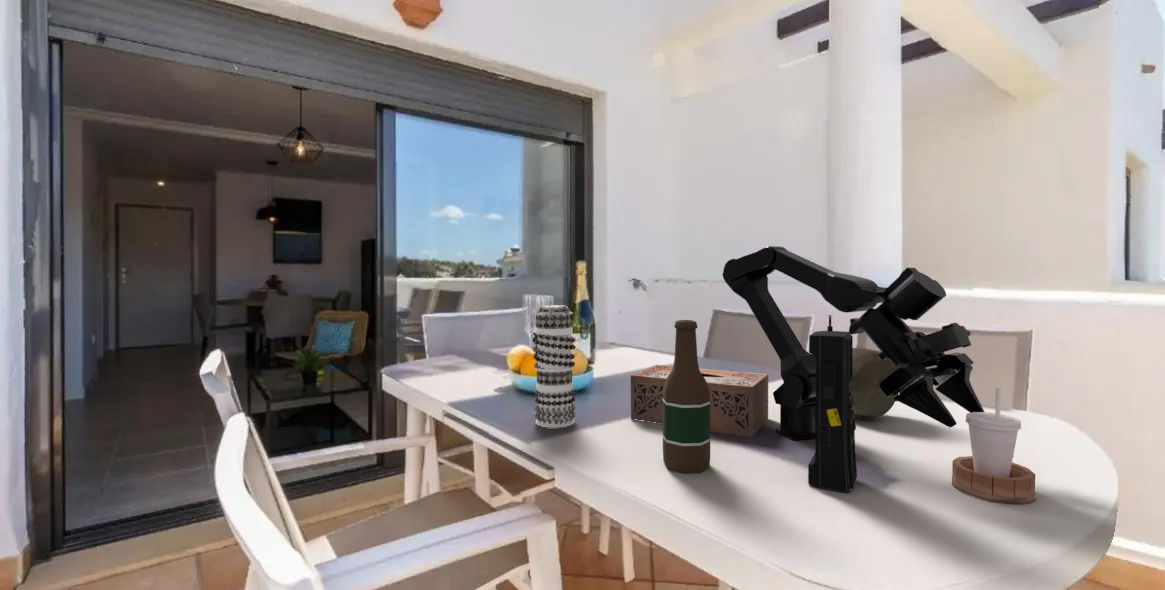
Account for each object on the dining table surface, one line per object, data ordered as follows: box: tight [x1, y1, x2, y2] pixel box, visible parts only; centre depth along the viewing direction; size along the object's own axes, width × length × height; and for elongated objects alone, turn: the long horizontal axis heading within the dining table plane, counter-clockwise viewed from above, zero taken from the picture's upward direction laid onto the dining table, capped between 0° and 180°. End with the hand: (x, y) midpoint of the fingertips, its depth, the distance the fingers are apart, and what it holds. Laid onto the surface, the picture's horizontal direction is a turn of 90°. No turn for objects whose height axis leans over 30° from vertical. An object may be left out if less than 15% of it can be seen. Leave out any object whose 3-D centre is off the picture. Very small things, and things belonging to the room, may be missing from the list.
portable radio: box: [807, 314, 858, 494], centre depth 80 cm, size 8×6×25 cm
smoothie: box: [965, 387, 1022, 478], centre depth 77 cm, size 6×6×14 cm
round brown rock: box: [850, 347, 900, 421], centre depth 116 cm, size 14×14×15 cm
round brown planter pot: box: [951, 455, 1036, 505], centre depth 77 cm, size 10×10×3 cm
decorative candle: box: [531, 304, 576, 428], centre depth 114 cm, size 9×9×25 cm
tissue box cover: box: [630, 364, 769, 438], centre depth 116 cm, size 26×14×10 cm, turn 60°
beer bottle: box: [662, 319, 711, 474], centre depth 88 cm, size 8×8×24 cm
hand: (968, 420), depth 80 cm, fingers open, 9 cm apart
